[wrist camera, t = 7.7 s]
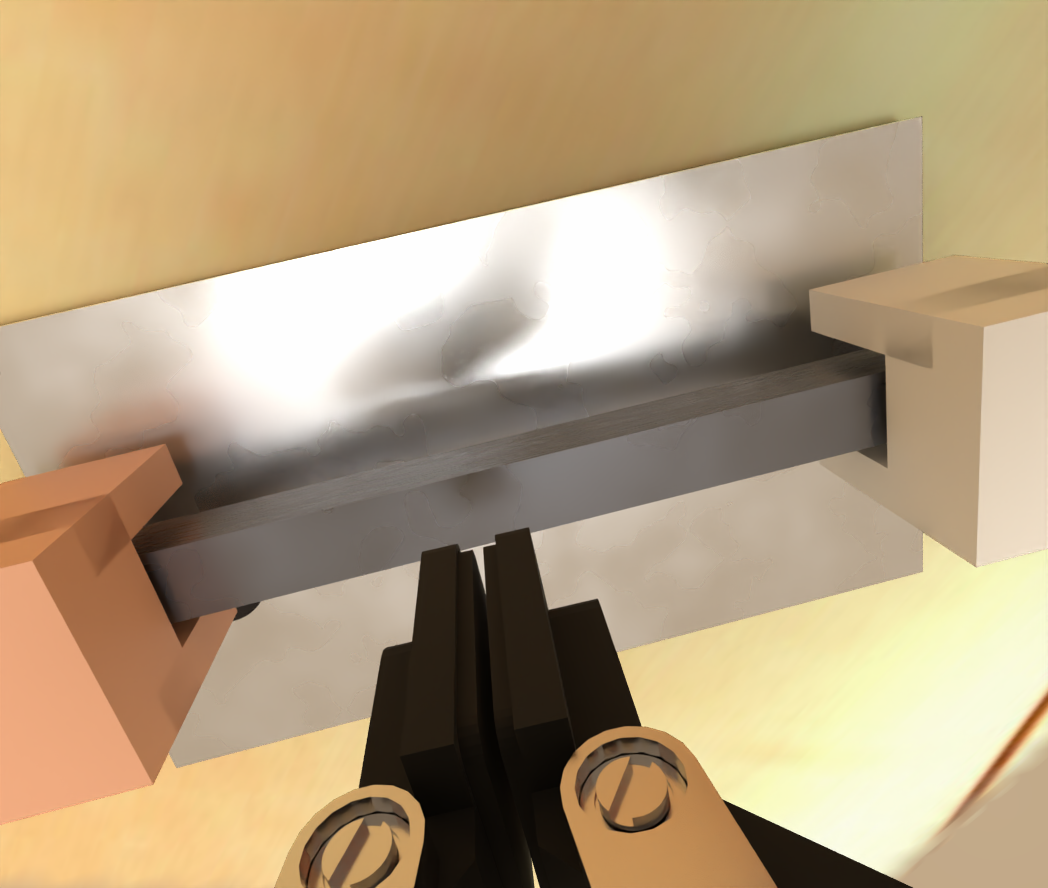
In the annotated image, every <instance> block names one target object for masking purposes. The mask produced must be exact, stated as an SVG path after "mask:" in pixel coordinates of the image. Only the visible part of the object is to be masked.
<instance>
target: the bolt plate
mask: <svg viewBox="0 0 1048 888" xmlns="http://www.w3.org/2000/svg"><path fill="white" fill-rule="evenodd" d="M919 263H923V251H922V116H921V117H916V118H911V119H905V120H900V121H895V122H891V123H887V124H882V125H878V126H873V127H869V128H865V129H860V130H856V131H852V132H847V133H843V134H838V135H834V136H830V137H825V138H821V139H816V140H812V141H808V142H803V143H799V144H795V145H790V146H786V147H781V148H777V149H773V150H768V151H764V152H759V153H755V154H751V155H746V156H742V157H738V158H733V159H729V160H724V161H720V162H716V163H711V164H707V165H702V166H698V167H694V168H689V169H685V170H681V171H676V172H672V173H667V174H663V175H659V176H654V177H650V178H645V179H641V180H637V181H632V182H628V183H624V184H619V185H615V186H610V187H606V188H602V189H597V190H593V191H588V192H584V193H580V194H575V195H571V196H567V197H562V198H558V199H553V200H549V201H545V202H540V203H536V204H531V205H527V206H523V207H518V208H514V209H510V210H505V211H501V212H496V213H492V214H488V215H483V216H479V217H474V218H470V219H466V220H461V221H457V222H453V223H448V224H444V225H439V226H435V227H431V228H426V229H422V230H417V231H413V232H409V233H404V234H400V235H396V236H391V237H387V238H382V239H378V240H374V241H369V242H365V243H360V244H356V245H352V246H347V247H343V248H339V249H334V250H330V251H325V252H321V253H317V254H312V255H308V256H304V257H299V258H295V259H290V260H286V261H282V262H277V263H273V264H268V265H264V266H260V267H255V268H251V269H247V270H242V271H238V272H233V273H229V274H225V275H220V276H216V277H211V278H207V279H203V280H198V281H194V282H190V283H185V284H181V285H176V286H172V287H168V288H163V289H159V290H154V291H150V292H146V293H141V294H137V295H133V296H128V297H124V298H119V299H115V300H111V301H106V302H102V303H97V304H93V305H89V306H84V307H80V308H76V309H71V310H67V311H62V312H58V313H54V314H49V315H45V316H40V317H36V318H32V319H27V320H23V321H19V322H14V323H10V324H5V325H1V326H0V429H1V431H2V433H3V435H4V437H5V439H6V441H7V443H8V444H9V446H10V448H11V450H12V452H13V454H14V456H15V458H16V460H17V462H18V464H19V466H20V468H21V469H22V471H23V473H24V475H25V477H29V476H33V475H37V474H41V473H45V472H50V471H54V470H58V469H62V468H66V467H71V466H75V465H79V464H83V463H87V462H91V461H96V460H100V459H104V458H108V457H112V456H116V455H121V454H125V453H129V452H133V451H137V450H142V449H146V448H150V447H154V446H158V445H162V444H166V446H167V448H168V451H169V453H170V455H171V458H172V460H173V462H174V465H175V467H176V469H177V472H178V474H179V476H180V479H181V481H182V483H183V484H182V485H181V486H180V487H179V488H178V489H177V490H176V491H175V492H174V494H173V495H172V496H171V497H170V498H169V499H168V500H167V501H166V502H165V503H164V505H163V506H162V507H161V508H160V509H159V510H158V511H157V512H156V513H155V514H154V515H153V517H152V518H151V519H150V520H149V521H148V522H147V523H146V524H145V525H149V524H153V523H157V522H161V521H165V520H169V519H174V518H178V517H182V516H186V515H190V514H194V513H198V512H202V511H206V510H210V509H214V508H218V507H223V506H227V505H231V504H235V503H239V502H243V501H247V500H251V499H255V498H259V497H263V496H267V495H272V494H276V493H280V492H284V491H288V490H292V489H296V488H300V487H304V486H308V485H312V484H316V483H321V482H325V481H329V480H333V479H337V478H341V477H345V476H349V475H353V474H357V473H361V472H365V471H370V470H374V469H378V468H382V467H386V466H390V465H394V464H398V463H402V462H406V461H410V460H414V459H419V458H423V457H427V456H431V455H435V454H439V453H443V452H447V451H451V450H455V449H459V448H463V447H468V446H472V445H476V444H480V443H484V442H488V441H492V440H496V439H500V438H504V437H508V436H512V435H517V434H521V433H525V432H529V431H533V430H537V429H541V428H545V427H549V426H553V425H557V424H561V423H566V422H570V421H574V420H578V419H582V418H586V417H590V416H594V415H598V414H602V413H606V412H610V411H615V410H619V409H623V408H627V407H631V406H635V405H639V404H643V403H647V402H651V401H655V400H659V399H664V398H668V397H672V396H676V395H680V394H684V393H688V392H692V391H696V390H700V389H704V388H708V387H713V386H717V385H721V384H725V383H729V382H733V381H737V380H741V379H745V378H749V377H753V376H757V375H762V374H766V373H770V372H774V371H778V370H782V369H786V368H790V367H794V366H798V365H802V364H806V363H811V362H815V361H819V360H823V359H827V358H831V357H835V356H839V355H843V354H847V353H851V352H855V351H860V350H864V349H866V348H863V347H860V346H856V345H853V344H850V343H847V342H844V341H841V340H838V339H835V338H832V337H828V336H825V335H822V334H819V333H816V332H813V331H811V316H810V299H809V290H810V289H814V288H818V287H823V286H827V285H831V284H835V283H839V282H843V281H848V280H852V279H856V278H860V277H864V276H868V275H873V274H877V273H881V272H885V271H889V270H894V269H898V268H902V267H906V266H910V265H914V264H919ZM145 525H144V526H145ZM531 537H532V541H533V546H534V550H535V554H536V558H537V563H538V567H539V571H540V575H541V580H542V584H543V588H544V592H545V597H546V601H547V605H548V609H549V610H550V609H554V608H559V607H563V606H567V605H572V604H576V603H580V602H584V601H589V600H593V599H598V600H599V602H600V605H601V608H602V611H603V614H604V617H605V620H606V623H607V626H608V629H609V632H610V634H611V637H612V640H613V643H614V646H615V649H616V652H619V651H623V650H627V649H631V648H634V647H638V646H642V645H646V644H650V643H653V642H657V641H661V640H665V639H669V638H672V637H676V636H680V635H684V634H688V633H691V632H695V631H699V630H703V629H707V628H710V627H714V626H718V625H722V624H726V623H729V622H733V621H737V620H741V619H745V618H748V617H752V616H756V615H760V614H764V613H768V612H771V611H775V610H779V609H783V608H787V607H790V606H794V605H798V604H802V603H806V602H809V601H813V600H817V599H821V598H825V597H828V596H832V595H836V594H840V593H844V592H847V591H851V590H855V589H859V588H863V587H866V586H870V585H874V584H878V583H882V582H885V581H889V580H893V579H897V578H901V577H904V576H908V575H912V574H916V573H920V572H923V532H922V531H920V530H919V529H917V528H916V527H914V526H913V525H911V524H910V523H908V522H907V521H905V520H904V519H902V518H900V517H899V516H897V515H896V514H894V513H893V512H891V511H890V510H888V509H887V508H885V507H884V506H882V505H881V504H879V503H878V502H876V501H875V500H873V499H872V498H870V497H869V496H867V495H866V494H864V493H863V492H861V491H859V490H858V489H856V488H855V487H853V486H852V485H850V484H849V483H847V482H846V481H844V480H843V479H841V478H840V477H838V476H837V475H835V474H834V473H832V472H831V471H829V470H828V469H826V468H825V467H823V466H822V465H820V464H819V460H818V461H814V462H810V463H806V464H802V465H798V466H794V467H791V468H787V469H783V470H779V471H775V472H771V473H767V474H763V475H759V476H755V477H751V478H747V479H743V480H739V481H735V482H731V483H727V484H723V485H719V486H715V487H711V488H707V489H703V490H699V491H695V492H692V493H688V494H684V495H680V496H676V497H672V498H668V499H664V500H660V501H656V502H652V503H648V504H644V505H640V506H636V507H632V508H628V509H624V510H620V511H616V512H612V513H608V514H604V515H600V516H596V517H593V518H589V519H585V520H581V521H577V522H573V523H569V524H565V525H561V526H557V527H553V528H549V529H545V530H541V531H537V532H533V533H531ZM490 545H495V542H494V543H490V544H486V545H482V546H478V547H474V548H470V549H466V550H462V551H461V552H464V551H469V550H473V551H474V554H475V557H476V560H477V564H478V568H479V571H480V575H481V579H482V582H483V586H484V590H485V593H486V587H485V571H484V555H483V547H486V546H490ZM419 571H420V561H418V562H414V563H410V564H406V565H402V566H398V567H395V568H391V569H387V570H383V571H379V572H375V573H371V574H367V575H363V576H359V577H355V578H351V579H347V580H343V581H339V582H335V583H331V584H327V585H323V586H319V587H315V588H311V589H307V590H303V591H299V592H296V593H292V594H288V595H284V596H280V597H276V598H272V599H268V600H264V601H260V602H256V603H252V604H248V605H244V606H240V607H236V609H237V613H236V615H235V617H234V619H233V622H232V624H231V626H230V628H229V630H228V632H227V634H226V636H225V638H224V640H223V642H222V644H221V646H220V648H219V650H218V652H217V654H216V656H215V659H214V661H213V663H212V665H211V667H210V669H209V671H208V673H207V675H206V677H205V679H204V681H203V683H202V685H201V687H200V689H199V691H198V693H197V696H196V698H195V700H194V702H193V704H192V706H191V708H190V710H189V712H188V714H187V716H186V718H185V720H184V722H183V724H182V726H181V728H180V730H179V733H178V735H177V737H176V739H175V741H174V743H173V745H172V747H171V749H170V751H169V755H170V756H171V758H172V760H173V762H174V764H175V766H176V768H178V767H182V766H186V765H190V764H193V763H197V762H201V761H205V760H209V759H212V758H216V757H220V756H224V755H228V754H231V753H235V752H239V751H243V750H247V749H250V748H254V747H258V746H262V745H266V744H270V743H273V742H277V741H281V740H285V739H289V738H292V737H296V736H300V735H304V734H308V733H311V732H315V731H319V730H323V729H327V728H330V727H334V726H338V725H342V724H346V723H349V722H353V721H357V720H361V719H365V718H368V717H371V713H372V707H373V701H374V695H375V690H376V684H377V678H378V672H379V666H380V660H381V656H382V652H383V650H384V649H385V648H386V647H390V646H395V645H399V644H403V643H408V642H412V637H413V627H414V618H415V609H416V599H417V590H418V580H419Z"/></svg>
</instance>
